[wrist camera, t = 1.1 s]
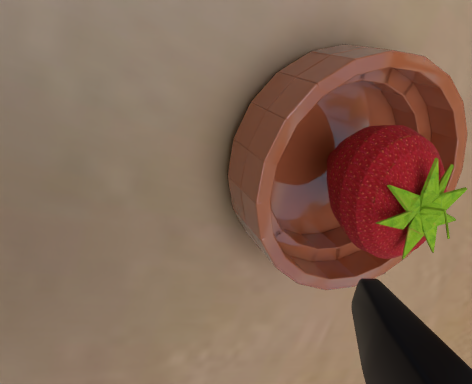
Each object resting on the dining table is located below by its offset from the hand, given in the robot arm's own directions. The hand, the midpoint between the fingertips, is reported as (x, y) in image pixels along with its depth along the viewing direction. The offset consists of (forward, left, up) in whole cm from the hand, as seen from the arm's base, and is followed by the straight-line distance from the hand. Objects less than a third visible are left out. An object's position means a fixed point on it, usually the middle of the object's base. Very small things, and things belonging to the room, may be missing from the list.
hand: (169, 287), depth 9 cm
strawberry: (+7, -11, -13) cm, 19 cm away
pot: (+7, -11, -13) cm, 19 cm away
